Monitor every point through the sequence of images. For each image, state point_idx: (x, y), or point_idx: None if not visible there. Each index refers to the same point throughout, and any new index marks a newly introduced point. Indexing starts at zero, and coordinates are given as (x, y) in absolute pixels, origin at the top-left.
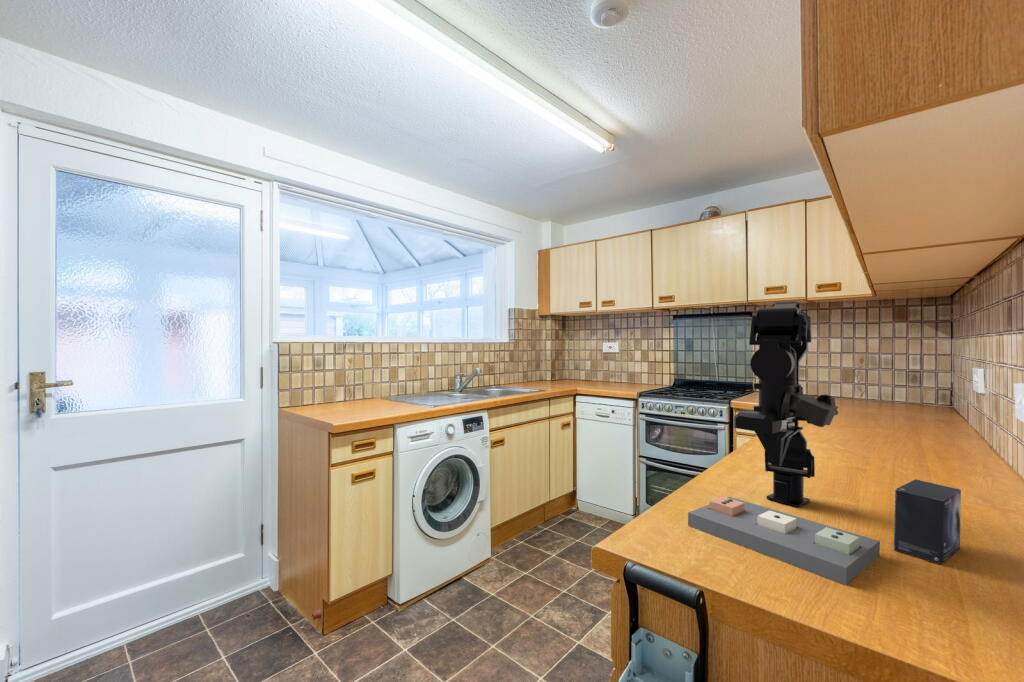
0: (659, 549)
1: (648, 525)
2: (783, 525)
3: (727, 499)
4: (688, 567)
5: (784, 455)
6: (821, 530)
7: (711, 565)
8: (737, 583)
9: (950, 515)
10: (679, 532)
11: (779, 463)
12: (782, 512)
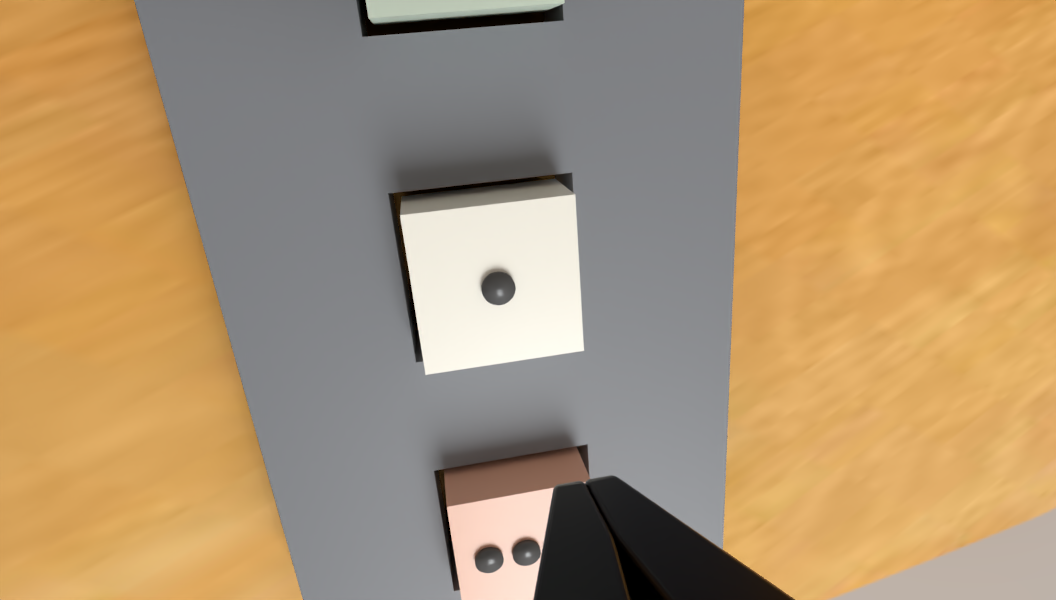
0: (976, 406)
1: (819, 567)
2: (574, 200)
3: (485, 574)
4: (1036, 263)
5: (546, 580)
6: (464, 7)
7: (963, 232)
8: (1033, 88)
9: None
10: (783, 480)
11: (637, 494)
12: (244, 374)
